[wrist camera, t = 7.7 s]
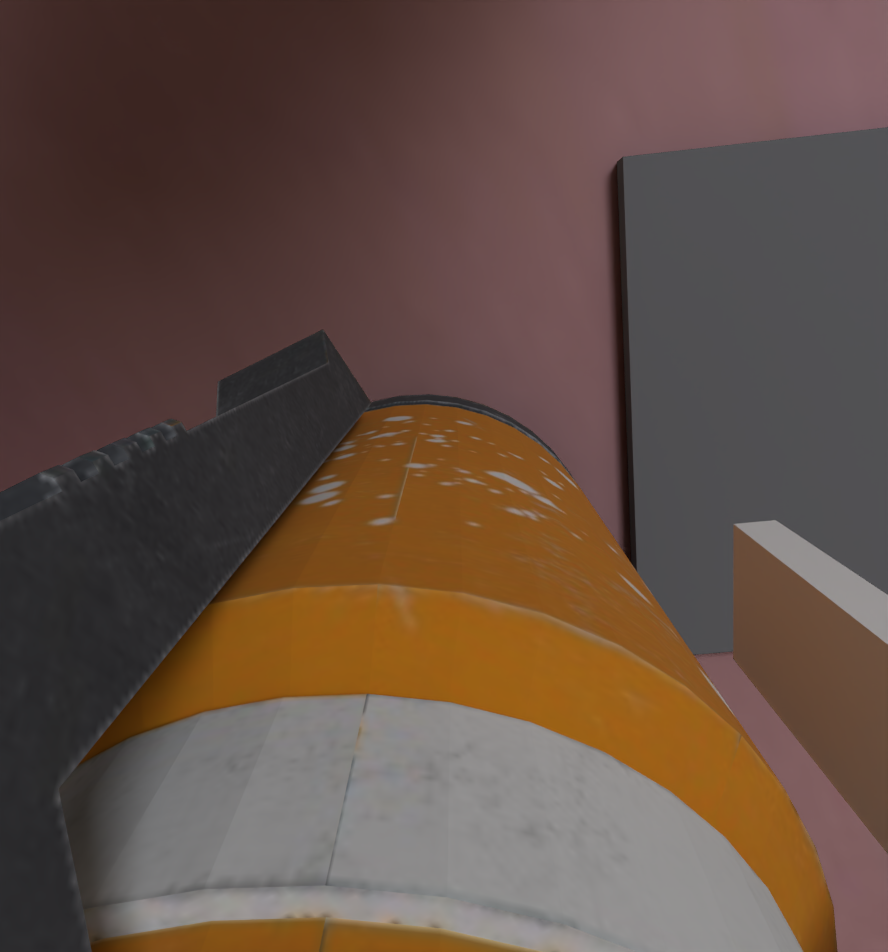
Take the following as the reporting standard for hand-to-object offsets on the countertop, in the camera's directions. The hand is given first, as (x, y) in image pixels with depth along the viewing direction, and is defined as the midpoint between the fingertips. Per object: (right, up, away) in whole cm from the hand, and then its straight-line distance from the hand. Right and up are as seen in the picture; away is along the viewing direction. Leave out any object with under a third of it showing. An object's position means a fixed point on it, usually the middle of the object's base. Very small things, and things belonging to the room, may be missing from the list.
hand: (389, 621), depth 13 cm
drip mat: (+12, +5, +5) cm, 14 cm away
